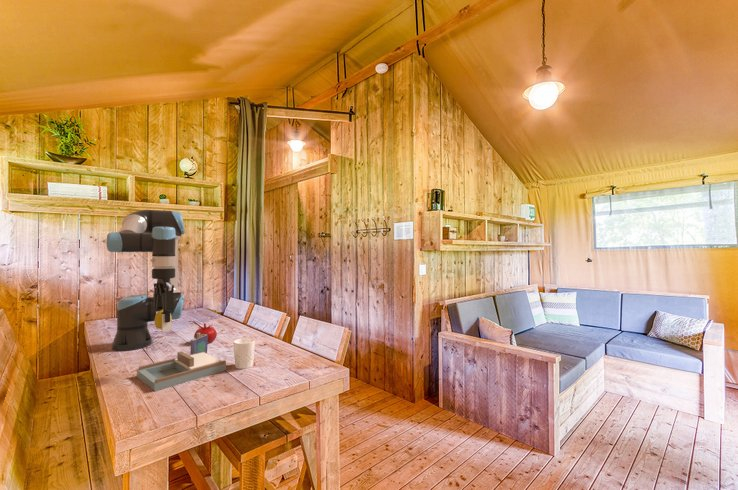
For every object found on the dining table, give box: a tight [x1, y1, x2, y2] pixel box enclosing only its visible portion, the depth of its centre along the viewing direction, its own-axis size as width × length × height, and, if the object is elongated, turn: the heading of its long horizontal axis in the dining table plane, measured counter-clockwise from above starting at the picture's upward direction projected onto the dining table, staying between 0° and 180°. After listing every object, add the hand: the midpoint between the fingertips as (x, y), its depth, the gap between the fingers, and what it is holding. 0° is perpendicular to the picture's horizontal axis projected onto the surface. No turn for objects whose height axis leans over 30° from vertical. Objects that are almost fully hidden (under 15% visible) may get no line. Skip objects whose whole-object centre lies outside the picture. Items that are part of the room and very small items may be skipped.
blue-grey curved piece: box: [190, 333, 208, 354], centre depth 140 cm, size 9×3×11 cm, turn 170°
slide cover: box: [175, 351, 222, 370], centre depth 128 cm, size 15×11×4 cm
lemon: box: [153, 309, 172, 331], centre depth 125 cm, size 6×6×8 cm
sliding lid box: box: [136, 351, 227, 392], centre depth 123 cm, size 18×24×4 cm
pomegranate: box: [193, 323, 218, 344], centre depth 162 cm, size 10×10×9 cm
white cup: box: [233, 337, 256, 370], centre depth 132 cm, size 8×8×10 cm
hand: (163, 329), depth 125 cm, fingers closed on lemon, 6 cm apart
